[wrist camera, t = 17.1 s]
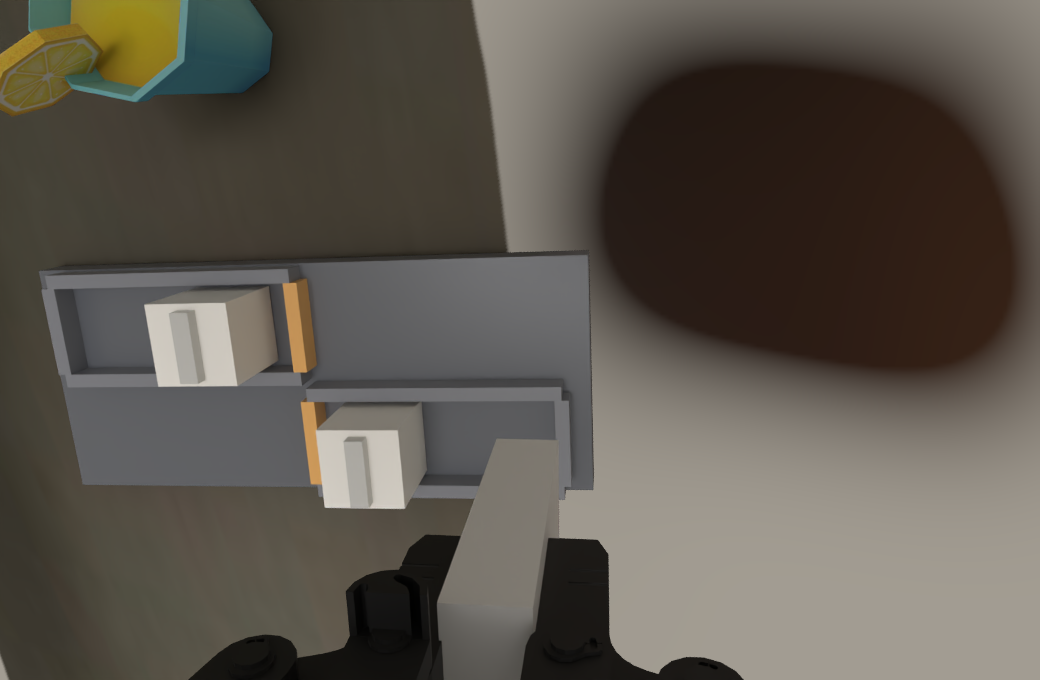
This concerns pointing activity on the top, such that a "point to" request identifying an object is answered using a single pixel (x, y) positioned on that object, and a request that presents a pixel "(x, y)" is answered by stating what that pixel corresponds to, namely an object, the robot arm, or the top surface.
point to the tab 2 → (372, 454)
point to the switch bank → (333, 366)
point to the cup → (133, 50)
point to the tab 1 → (212, 336)
